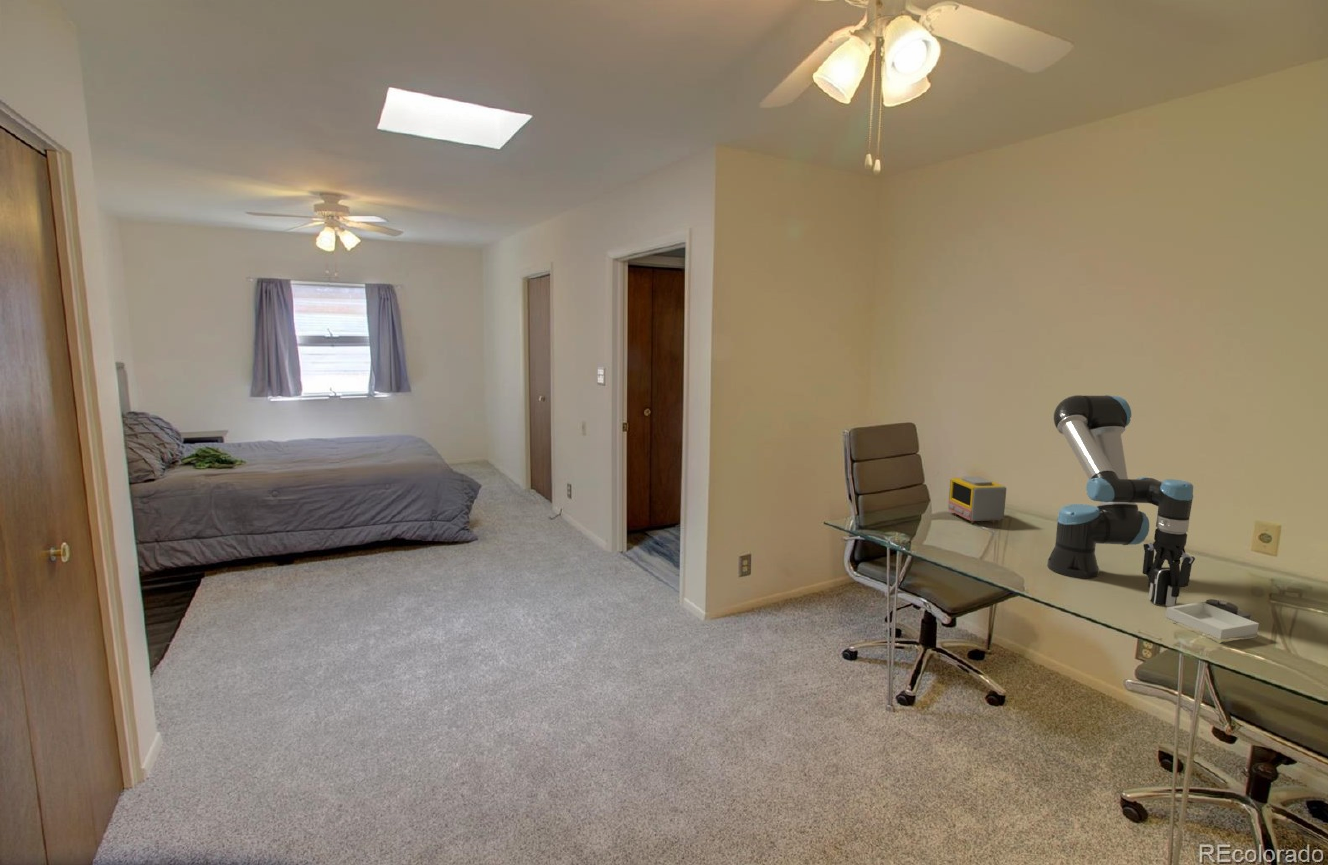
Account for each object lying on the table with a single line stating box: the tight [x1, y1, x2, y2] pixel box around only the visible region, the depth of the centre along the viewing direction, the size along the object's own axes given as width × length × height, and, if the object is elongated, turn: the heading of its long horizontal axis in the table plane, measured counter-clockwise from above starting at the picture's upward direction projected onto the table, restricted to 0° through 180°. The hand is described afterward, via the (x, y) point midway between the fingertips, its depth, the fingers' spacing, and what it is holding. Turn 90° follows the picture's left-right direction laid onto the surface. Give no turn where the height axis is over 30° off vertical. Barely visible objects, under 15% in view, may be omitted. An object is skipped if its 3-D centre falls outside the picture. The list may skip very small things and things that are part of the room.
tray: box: [1164, 601, 1260, 640], centre depth 170 cm, size 14×14×4 cm
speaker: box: [1203, 598, 1252, 620], centre depth 177 cm, size 10×8×4 cm
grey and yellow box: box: [947, 475, 1007, 524], centre depth 272 cm, size 20×16×18 cm
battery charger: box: [1149, 566, 1178, 606], centre depth 185 cm, size 7×4×11 cm, turn 94°
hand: (1161, 602), depth 186 cm, fingers closed on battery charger, 4 cm apart
